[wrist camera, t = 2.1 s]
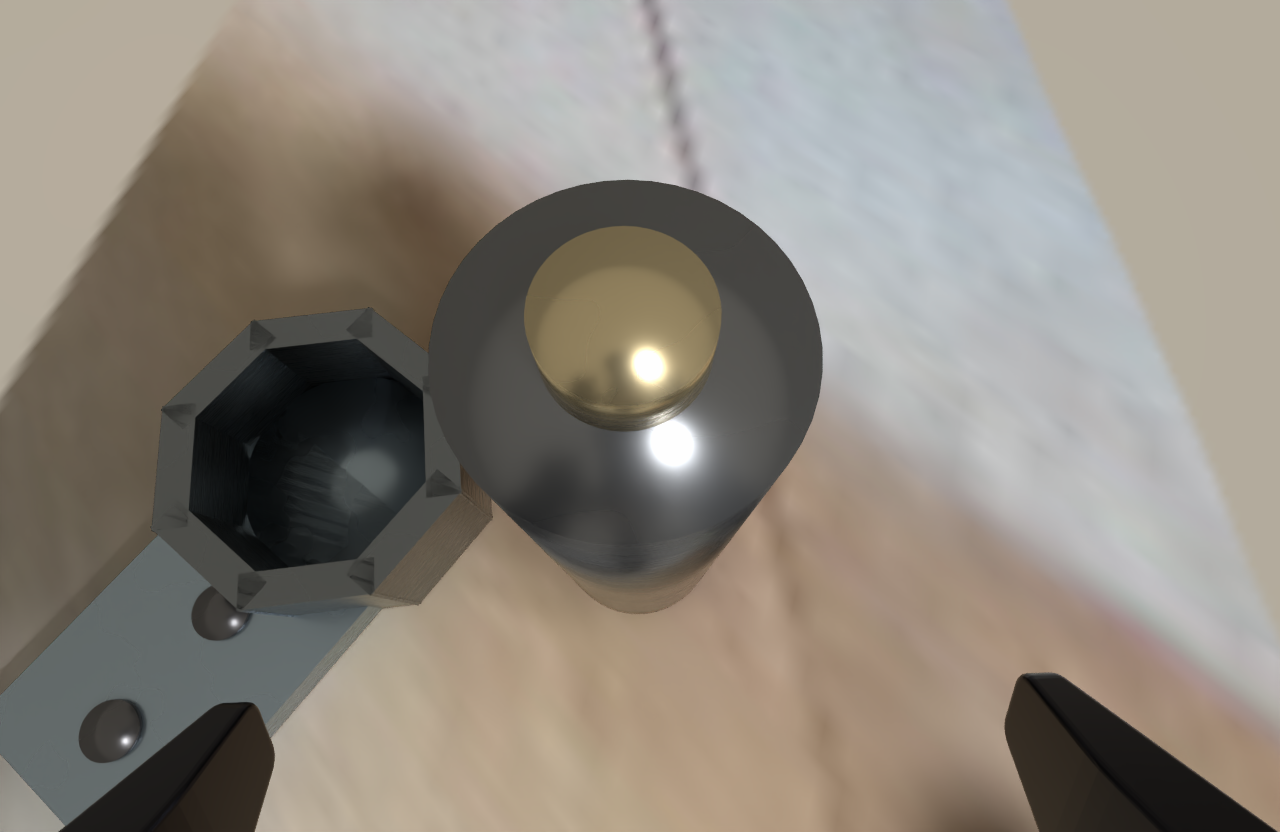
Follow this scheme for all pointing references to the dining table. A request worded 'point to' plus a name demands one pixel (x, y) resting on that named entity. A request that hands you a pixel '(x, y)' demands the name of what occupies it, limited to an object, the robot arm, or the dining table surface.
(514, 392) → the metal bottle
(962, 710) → the dining table surface
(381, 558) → the hinge leaf
